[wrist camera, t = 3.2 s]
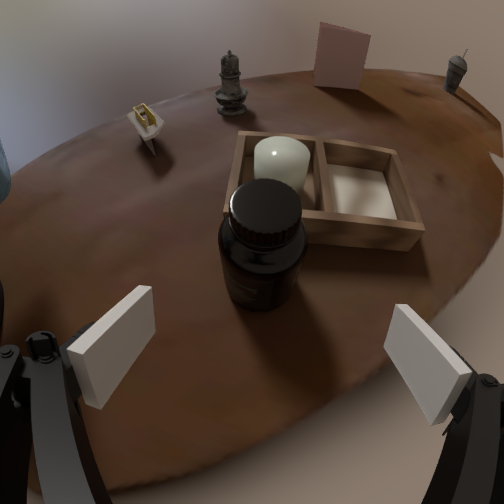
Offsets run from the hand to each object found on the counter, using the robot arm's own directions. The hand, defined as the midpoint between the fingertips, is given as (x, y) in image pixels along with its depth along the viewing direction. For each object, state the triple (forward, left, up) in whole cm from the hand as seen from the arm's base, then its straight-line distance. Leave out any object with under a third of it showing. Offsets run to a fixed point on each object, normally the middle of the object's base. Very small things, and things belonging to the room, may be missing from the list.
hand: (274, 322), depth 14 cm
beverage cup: (+62, +83, -12) cm, 104 cm away
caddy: (+6, +20, -12) cm, 24 cm away
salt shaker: (-8, +41, -12) cm, 43 cm away
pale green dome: (+1, +20, -11) cm, 23 cm away
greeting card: (+13, +57, -12) cm, 59 cm away
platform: (-20, +30, -13) cm, 38 cm away
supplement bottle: (-1, +8, -12) cm, 14 cm away
